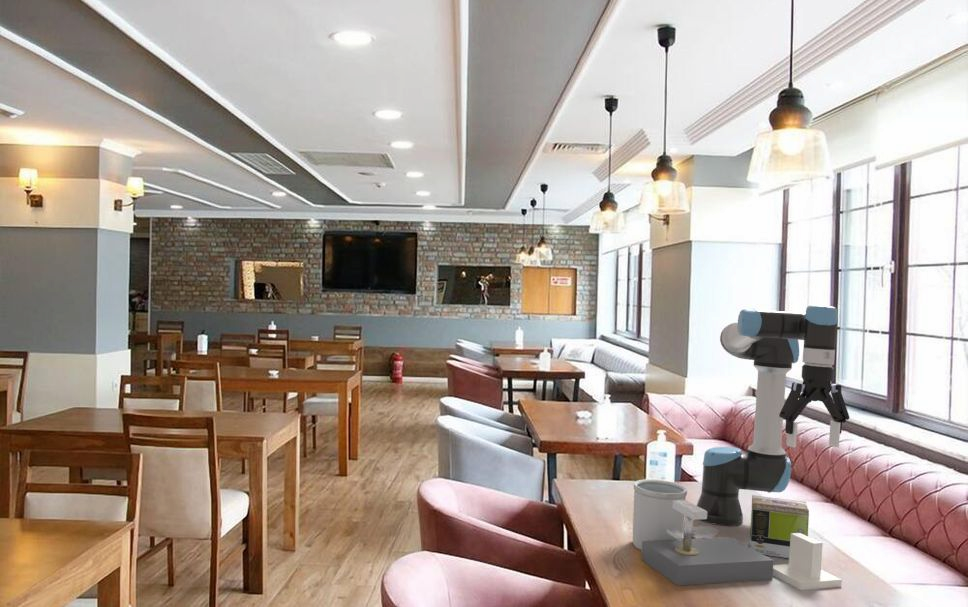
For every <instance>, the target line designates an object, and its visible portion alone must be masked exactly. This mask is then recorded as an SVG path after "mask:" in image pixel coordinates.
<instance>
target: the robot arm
mask: <svg viewBox="0 0 968 607" xmlns="http://www.w3.org/2000/svg"><path fill="white" fill-rule="evenodd" d="M838 320H839V319H838V310H837V308H836V307H835V306H826V305H808V306H807V307H806V310H805V312H800V311H799V312H798V311H796V312H795V311H783V310H781V311H778V310H764V309H756V308H752V309H751V308H750V309H745V308H744V309H741V310H740V311H739V314H738V317H737V322H733V323H730V324H728V325H727V326H725V327H724V328H723V329H722V331H721V333H720V336H719V341H720V345H721V347H722V349H723V350H725V351H726V353H727V354H729V355H730V356H733V357H735V358H737V359H742V360H749V361H753V366H754V368H755V369H756V370H757V382H756V398H755V409H754V410H755V412H754V426H753V439H752V444H751V445H749V446H748V447H747V452H746V453H743V452H742V449H740V448H739V447H734V446H733V447H731V446H716V447H711V448H708V449H706V450H705V451H704V455H703V462H702V477H701V478H702V480H701V493H700V496H699V498H698V501H697V503H696V506H698V507H700V508H702V509H704V510H706V511H707V519H698V520H700V521H703V522H704V523H708V524H711V525H712V524H713V525H717V526H718V525H719V526H729V527H731V526H733V527H734V526H739V525H742V524H743V523H744V522H743V520H744V515H743V511H742V508H741V502H740V500H739V495H740V494H739V492H740V490H745V491H746V490H747V491H756V492H757V491H758V492H765V493H769V494H770V493H782V492H784V491H786V490H787V487H788V485H789V482H790V480H791V474H792V468H791V467H792V462H791V459H790V458H789V457H788V456H787V455H786V454H787V452H786V451H785V449H784V448H783V447H782V440H783V426H784V420H785V430H784V431H785V434H786V443H785V444H786V446H787V447H791V448H797V438H798V437H797V436H798V421H796V420H797V418H798V417H799V416H800V415H801V413H802V412H803V411H804V410H805V409H806V407H807V406H808V404H810V403H811V402H817V401H818V402H821V403H822V404H823V405H824V407H825V408H826V410H827V411H828V413H829V415H830V417H831V418H832V419H833V420H830V421H829V422H830V424H829V439H828V446H831V447H834V448H840V439H841V438H840V437H841V436H840V435H841V434H842V428H843V424H845V423H846V421H848V420H850V414H849V412H848V408H847V405H846V403H845V400H844V397H843V393H842V385H841V384H838V383H831V382H833V380H834V372H835V369H834V367H833V365H834V364H835V355H836V344H837V342H836V341H837V340H836V339H837V329H838V328H837V327H838V322H839V321H838ZM799 341H803V350H802V351H803V352H802V363H803V364H802V366H801V378H802V383H798V382H795V381H793V382H791V386H790V387H791V388H790V392H789V394H788V395H787V398H786V399H785V397H786V396H785V395H786V383H787V382H786V381H787V373H788V372H790V371H791V370H792V368H793V364H797V362H799V357H800V345H799V344H800V343H799Z"/></svg>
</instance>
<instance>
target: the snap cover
mask: <svg viewBox="0 0 968 607" xmlns="http://www.w3.org/2000/svg"><path fill="white" fill-rule="evenodd" d="M823 545H824V544H823V541H822V542H821V541H819V540H816V539H815V538H812V537H810V536H809V535H808V536H806V535H804V534H801V533H791V538H790V554H789V558H788V563H785V564H783V563H782V564H773V577H776V578H777V579H779V580H780V581H783V582H785V583H787V584H788V585H790V586H792V587H793V588H795V589H798V590H800V591H805V590H816V589H829V588H841V587H842V583H843V582H842V581H843V579H841V578H839V577H837V576H835V575H833V574H831V573H829V572H827V571H826V570H823V569H822V560H823V558H822V557H823Z"/></svg>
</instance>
